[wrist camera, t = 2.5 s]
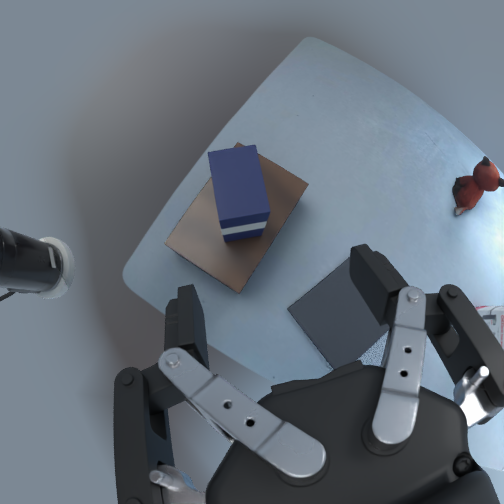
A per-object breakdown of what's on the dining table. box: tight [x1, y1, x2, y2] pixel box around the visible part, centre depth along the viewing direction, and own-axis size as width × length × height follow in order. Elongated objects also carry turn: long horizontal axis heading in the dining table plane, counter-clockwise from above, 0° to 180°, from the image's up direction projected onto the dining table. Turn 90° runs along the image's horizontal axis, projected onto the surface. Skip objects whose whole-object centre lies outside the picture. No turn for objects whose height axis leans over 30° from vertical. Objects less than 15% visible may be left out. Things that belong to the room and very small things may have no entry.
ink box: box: [475, 306, 504, 349], centre depth 39 cm, size 9×5×12 cm, turn 5°
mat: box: [288, 257, 390, 370], centre depth 44 cm, size 14×14×1 cm
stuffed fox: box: [453, 156, 504, 215], centre depth 43 cm, size 8×11×12 cm
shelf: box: [164, 142, 309, 294], centre depth 43 cm, size 18×12×7 cm, turn 148°
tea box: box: [208, 145, 271, 242], centre depth 34 cm, size 5×8×11 cm, turn 11°
